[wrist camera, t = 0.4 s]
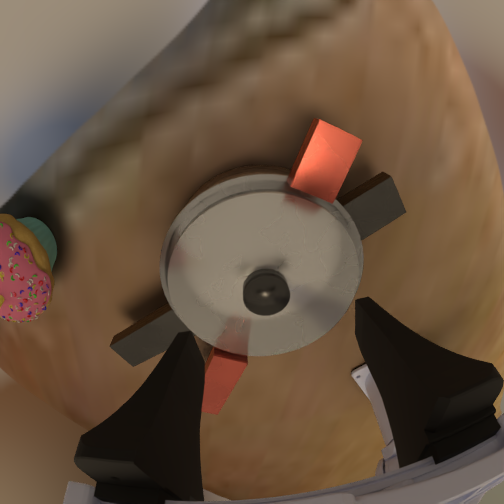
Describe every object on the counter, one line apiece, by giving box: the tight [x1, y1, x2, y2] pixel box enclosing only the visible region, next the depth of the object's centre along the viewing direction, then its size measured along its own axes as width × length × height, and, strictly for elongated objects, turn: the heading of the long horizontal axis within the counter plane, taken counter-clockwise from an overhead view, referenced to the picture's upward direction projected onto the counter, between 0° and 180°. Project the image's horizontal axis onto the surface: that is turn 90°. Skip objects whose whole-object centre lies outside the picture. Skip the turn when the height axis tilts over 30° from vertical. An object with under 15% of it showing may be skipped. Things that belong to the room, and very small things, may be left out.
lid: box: [168, 118, 363, 415], centre depth 19 cm, size 23×11×2 cm, turn 159°
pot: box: [110, 165, 406, 367], centre depth 21 cm, size 13×23×4 cm, turn 124°
